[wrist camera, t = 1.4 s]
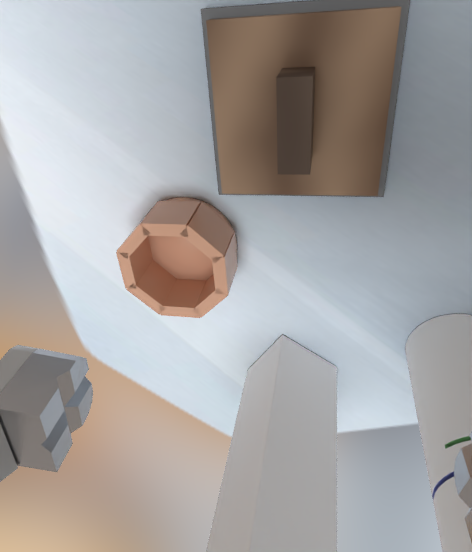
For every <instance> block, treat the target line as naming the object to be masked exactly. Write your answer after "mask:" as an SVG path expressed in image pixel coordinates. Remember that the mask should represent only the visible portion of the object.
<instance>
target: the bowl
mask: <svg viewBox="0 0 472 552" xmlns="http://www.w3.org/2000/svg"><path fill="white" fill-rule="evenodd" d="M116 253H117V257H118V261H119V265H120V269H121V273H122V277H123V280H124V284H125V288H127V289H126V290H128V291H129V292H130V293H132V294H133V295H134V296H136V297H137V298H138V299H140V300H141V301H142V302H143V303H145V304H146V305H147V306H149V307H150V308H151V309H153V310H154V311H155V312H157V313H158V314H161V315H167V316H181V317H195V318H200V317H202V316H204V315H205V314H206V313H207V312H209V311H210V310H211V309H212V308H213V307H215V306H216V305H217V304H218V303H219V302H221V301H222V300H223V299H224V298H225V297H227V296H228V293H229V290H230V288H231V285H232V282H233V279H234V276H235V273H236V270H237V254H236V253H237V240H236V235H235V232H234V230H233V228H232V226H231V224H230V223H229V221H228V220H227V218H226V217H225V216H224V215H223V214H222V213H221V212H220V211H219V210H217V209H216V208H215V207H213V206H212V205H210V204H208V203H206V202H204V201H201V200H198V199H194V198H189V197H177V198H171V199H168V200H165V201H159V202H157V203H156V204H155V205H154V207H153V208H152V209H151V210H150V211H149V212H148V214H147V215H146V216H145V217H144V218H143V219H142V221H141V222H140V223H139V224H138V225H137V226H136V228H135V229H134V230H133V231H132V233H131V234H130V235H129V236H128V238H127V239H126V240H125V241H124V242H123V244H122V245H121V246H120V247H119V249H118V250H117V252H116Z"/></svg>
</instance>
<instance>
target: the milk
mask: <svg viewBox="0 0 472 552" xmlns="http://www.w3.org/2000/svg"><path fill="white" fill-rule="evenodd" d="M206 552H337V367H336V366H334V365H333V364H331V363H329V362H328V361H326V360H324V359H323V358H321V357H319V356H318V355H316V354H314V353H313V352H311V351H309V350H308V349H306V348H304V347H303V346H301V345H299V344H298V343H296V342H294V341H292V340H291V339H289V338H287V337H286V336H284V335H282V336H281V337H280V338H279V339H278V340H277V341H276V342H275V343H274V344H273V345H272V346H271V347H270V348H269V349H268V350H267V351H266V352H265V353H264V354H263V355H262V356H261V357H260V358H259V359H258V360H257V361H256V362H255V363H254V364H253V365H252V366H251V367H250V368H249V369H248V371H247V375H246V379H245V383H244V388H243V392H242V397H241V401H240V405H239V410H238V414H237V418H236V423H235V427H234V431H233V436H232V440H231V445H230V449H229V453H228V458H227V462H226V466H225V471H224V475H223V479H222V484H221V488H220V493H219V497H218V502H217V506H216V510H215V515H214V519H213V523H212V528H211V532H210V536H209V541H208V545H207V550H206Z"/></svg>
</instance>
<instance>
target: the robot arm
mask: <svg viewBox="0 0 472 552" xmlns="http://www.w3.org/2000/svg"><path fill="white" fill-rule="evenodd" d="M88 370H89V368H88V364H87V360H86V358H83V357H79V356H74V355H69V354H64V353H59V352H53V351H49V350H44V349H37V348H32V347H27V346H21V345H17V346H15V347H13V348H11V349H10V350H9V351H8V352H7V353H6V354H5V356H3V358H2V359H1V360H0V482H1V481H2V480H3V479H4V478H6V477H7V476H8V475H9V474H11V473H12V472H13V471H15V470H16V469H17V468H18V467H17V466H24V467H29V468H36V469H41V470H47V471H54V472H57V471H58V469H59V468H60V466H61V464H62V462H63V460H64V458H65V457H66V455H67V453H68V451H69V449H70V447H71V446H72V439H71V433H72V432H73V431H75V430H76V429H78V428H80V427H81V426H82V425H83V423H84V421H85V420H86V417H87V416H88V413H89V410H90V407H91V403H92V396H93V390H92V384H91V382H90V381H89V380H88V379H87V378H86V377H85V375H86V373H87V371H88ZM470 438H471V441H472V431H471V433H470ZM454 478H455V485H456V488H457V492H458V496H459V497H460V498H461V499H462V500H463V501H464V502H465V504H466V505H467V506H468V507H469V510H468V512H467V514H466V516H465V522H466V525H467V529H468V532H469V536H470V539H471V543H472V443H471V444H469V445H467V446H465V447H462V448H461V449H460V451H459V453H458V455H457V457H456V460H455V467H454Z"/></svg>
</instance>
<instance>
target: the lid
mask: <svg viewBox="0 0 472 552" xmlns="http://www.w3.org/2000/svg"><path fill="white" fill-rule="evenodd" d="M400 15H401V7H400V6H394V7H380V8H365V9H350V10H336V11H321V12H307V13H292V14H278V15H263V16H249V17H234V18H220V19H209V20H206V25H207V35H208V46H209V57H210V68H211V79H212V90H213V101H214V112H215V123H216V134H217V145H218V155H219V166H220V177H221V188H222V194H281V195H352V196H378V190H379V182H380V174H381V166H382V158H383V150H384V142H385V134H386V126H387V118H388V110H389V102H390V94H391V86H392V78H393V71H394V63H395V55H396V47H397V39H398V31H399V23H400Z"/></svg>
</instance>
